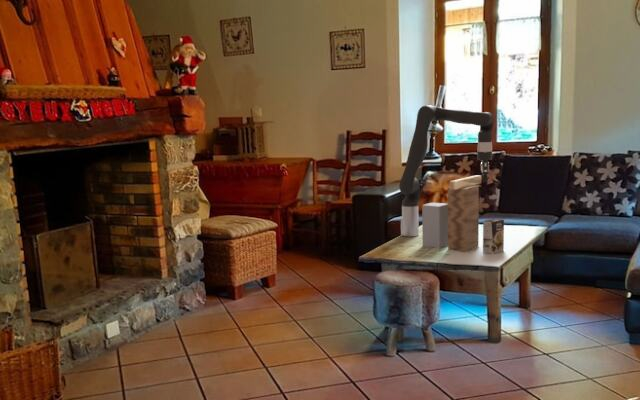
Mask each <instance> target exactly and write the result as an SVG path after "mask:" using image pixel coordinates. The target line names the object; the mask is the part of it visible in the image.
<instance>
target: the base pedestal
mask: <svg viewBox="0 0 640 400" xmlns="http://www.w3.org/2000/svg"><path fill="white" fill-rule="evenodd" d="M421 213H422V214H421V215H422V220H421V222H422V223H421V224H422V247H427V248H433V247H434V248H435V249H441V247H442V248H444V247H446V246H447V247H448V203H441V202H429V203H426V204H422V212H421Z"/></svg>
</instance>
